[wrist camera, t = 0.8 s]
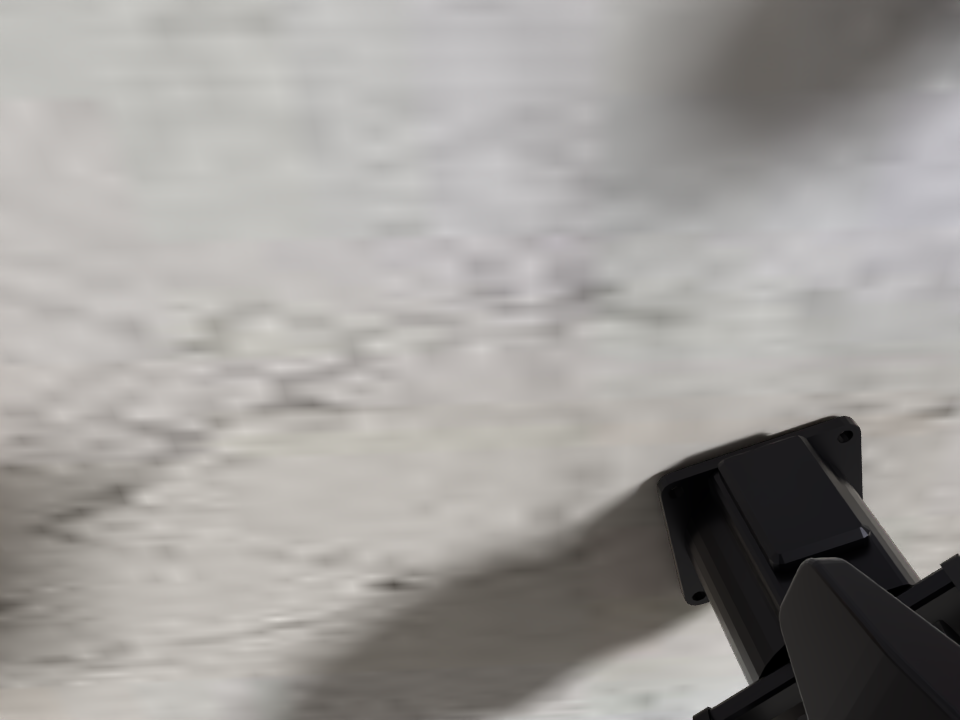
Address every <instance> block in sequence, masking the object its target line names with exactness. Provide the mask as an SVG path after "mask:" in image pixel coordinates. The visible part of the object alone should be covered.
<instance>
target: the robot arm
mask: <svg viewBox="0 0 960 720" xmlns="http://www.w3.org/2000/svg"><path fill="white" fill-rule="evenodd" d="M842 432H843V433H842ZM674 487H676V488H675V489H672V488H674ZM657 491H658V495H659V499H660V503H661V507H662V512H663V516H664V520H665V524H666V528H667V533H668V537H669V541H670V545H671V549H672V553H673V558H674V562H675V566H676V570H677V574H678V579H679V583H680V587H681V591H682V594H683V596H684V598H685V600H686V602H687V603H688V604H690V605H700V604H704V603H707V602H710V603H711V605H712V607H713V610H714V612H715V614H716V616H717V618H718V620H719V622H720V624H721V627H722V629H723V631H724V633H725V635H726V637H727V639H728V641H729V644H730V646H731V648H732V650H733V652H734V654H735V656H736V659H737V661H738V663H739V665H740V667H741V669H742V671H743V673H744V676H745V678H746V680H747V682H748V684H749V686H748V687H746V688H744V689H743V690H741V691H739V692H738V693H736V694H734V695H733V696H731V697H730V698H728V699H726V700H725V701H723V702H721V703H720V704H718V705H717V706H715V707H713V708H710V707H707V708H705V709H704V710H702V711H700V712H699V713H697V714H695V715H694V716H693V720H960V555H959V554H958V553H957V554H956V555H954V556H952V557H951V558H949V559H948V560H946V561H944V562H943V563H941V564H940V565H941V567H942V568H940V569H938V570H937V571H935V572H933V573H932V574H930V575H929V576H927V577H925V578H924V579H922V580H921V579H920V578H919V577H918V575H917V574H916V572H915V571H914V570H913V568H912V567H911V566H910V564H909V563H908V562H907V560H906V559H905V557H904V556H903V555H902V553H901V552H900V551H899V549H898V548H897V546H896V545H895V544H894V542H893V541H892V540H891V538H890V537H889V536H888V534H887V533H886V531H885V530H884V529H883V527H882V526H881V525H880V523H879V522H878V520H877V519H876V518H875V516H874V515H873V514H872V512H871V511H870V510H869V508H868V507H867V505H866V504H865V503H864V501H863V493H862V455H861V430H860V428H859V426H858V425H857V424H856V423H855V421H854V420H853V419H852V418H850V417H847V416H842V417H837V418H834V419H831V420H828V421H825V422H822V423H819V424H816V425H813V426H810V427H807V428H804V429H801V430H798V431H795V432H792V433H789V434H786V435H783V436H780V437H777V438H774V439H771V440H768V441H765V442H762V443H759V444H756V445H753V446H750V447H747V448H744V449H741V450H738V451H735V452H732V453H729V454H726V455H723V456H720V457H717V458H714V459H711V460H708V461H705V462H702V463H699V464H696V465H693V466H690V467H687V468H684V469H681V470H678V471H675V472H672V473H669V474H667V475H665V476H663V477H662V478H661V479H660V480H659V482H658V484H657Z"/></svg>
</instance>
